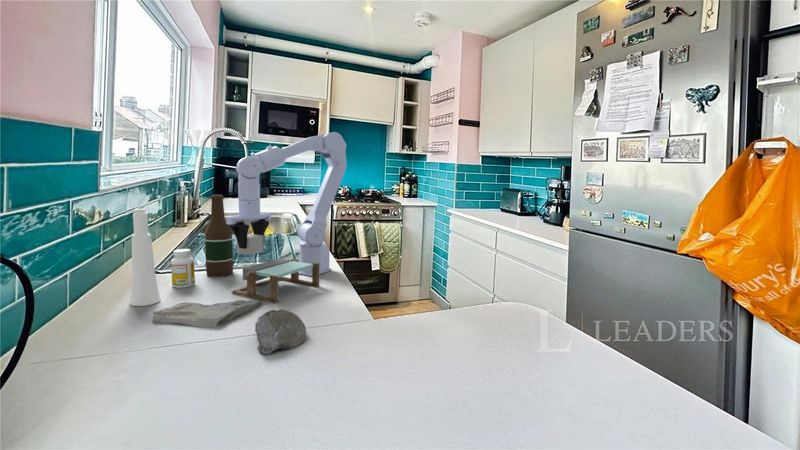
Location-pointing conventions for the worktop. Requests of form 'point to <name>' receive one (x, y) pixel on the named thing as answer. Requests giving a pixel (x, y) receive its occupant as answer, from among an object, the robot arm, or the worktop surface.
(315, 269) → the walnut frame
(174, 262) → the supplement bottle
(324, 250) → the robot arm
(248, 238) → the stone block
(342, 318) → the worktop surface
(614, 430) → the worktop surface
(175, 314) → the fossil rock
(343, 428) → the worktop surface
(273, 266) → the trapdoor plate
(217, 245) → the beer bottle
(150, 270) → the cosmetic bottle
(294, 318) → the fossilized seashell
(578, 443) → the worktop surface
